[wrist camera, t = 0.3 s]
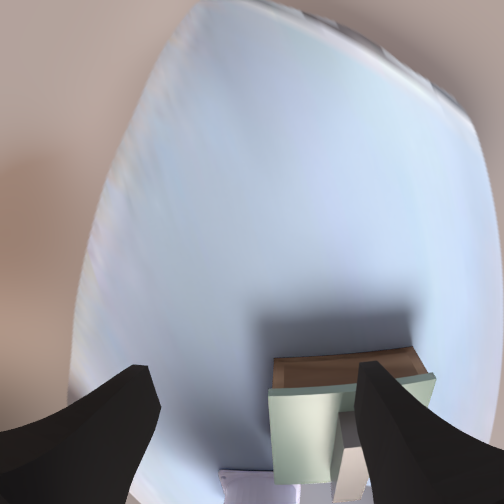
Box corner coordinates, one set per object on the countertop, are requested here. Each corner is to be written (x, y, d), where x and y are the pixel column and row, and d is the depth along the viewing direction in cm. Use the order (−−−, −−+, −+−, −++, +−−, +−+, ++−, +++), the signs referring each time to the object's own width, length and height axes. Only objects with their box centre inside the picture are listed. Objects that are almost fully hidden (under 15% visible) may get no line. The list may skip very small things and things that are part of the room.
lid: (397, 455, 21) (409, 499, 16) (275, 467, 22) (272, 514, 17) (426, 361, 18) (454, 410, 13) (269, 376, 19) (264, 433, 14)
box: (390, 436, 23) (398, 464, 19) (279, 446, 24) (277, 476, 20) (412, 346, 20) (429, 375, 17) (274, 358, 21) (271, 391, 18)
